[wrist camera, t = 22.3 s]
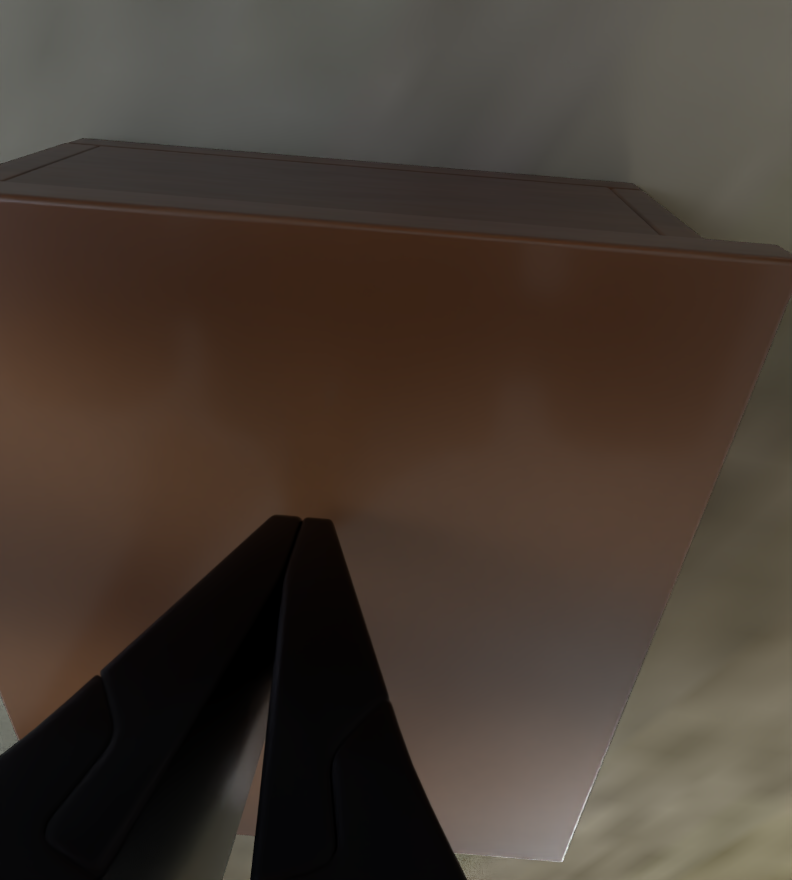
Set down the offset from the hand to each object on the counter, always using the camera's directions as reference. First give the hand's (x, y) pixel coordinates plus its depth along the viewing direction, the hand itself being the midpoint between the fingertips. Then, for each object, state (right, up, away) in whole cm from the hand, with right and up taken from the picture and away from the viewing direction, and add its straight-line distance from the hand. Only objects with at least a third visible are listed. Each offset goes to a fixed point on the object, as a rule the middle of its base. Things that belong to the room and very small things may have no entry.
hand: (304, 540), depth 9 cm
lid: (0, -1, +2) cm, 3 cm away
